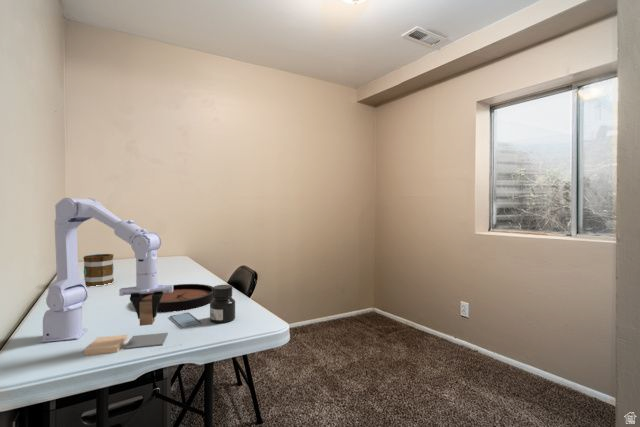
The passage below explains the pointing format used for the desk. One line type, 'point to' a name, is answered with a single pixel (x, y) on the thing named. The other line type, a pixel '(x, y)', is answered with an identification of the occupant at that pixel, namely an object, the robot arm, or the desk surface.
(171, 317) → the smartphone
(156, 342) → the mat
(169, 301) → the wall clock
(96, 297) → the desk surface
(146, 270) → the robot arm
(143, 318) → the block
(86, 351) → the clay tile
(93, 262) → the mug
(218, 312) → the ink bottle
